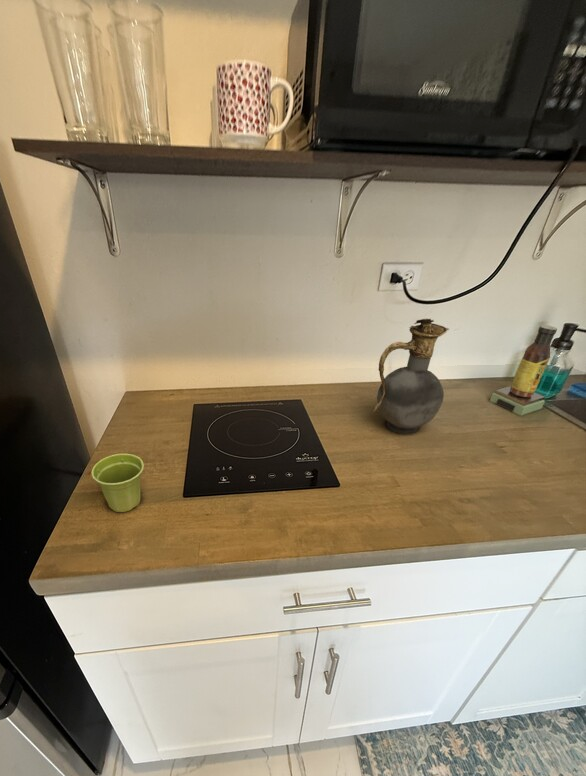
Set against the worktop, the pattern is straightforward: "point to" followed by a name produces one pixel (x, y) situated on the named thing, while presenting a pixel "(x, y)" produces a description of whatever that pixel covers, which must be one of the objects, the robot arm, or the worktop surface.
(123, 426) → the worktop surface
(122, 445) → the worktop surface
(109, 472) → the plant pot
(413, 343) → the pitcher
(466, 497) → the worktop surface
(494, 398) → the scale
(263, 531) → the worktop surface
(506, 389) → the scale platform
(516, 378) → the sauce bottle
